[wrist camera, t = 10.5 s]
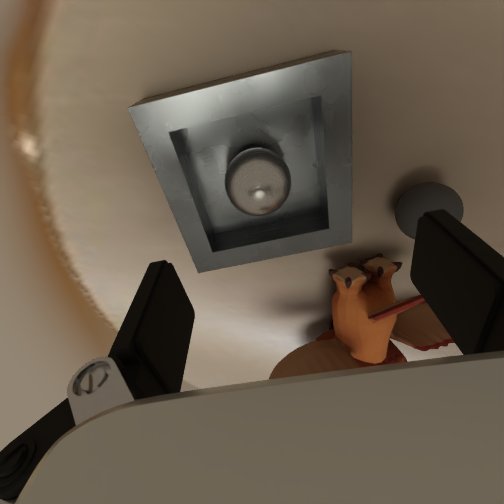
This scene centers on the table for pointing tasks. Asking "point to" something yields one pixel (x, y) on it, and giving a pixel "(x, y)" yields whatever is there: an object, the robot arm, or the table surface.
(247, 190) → the steel ball
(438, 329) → the figurine
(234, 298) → the table surface
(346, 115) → the square metal tray
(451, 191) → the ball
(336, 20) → the table surface
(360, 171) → the table surface
